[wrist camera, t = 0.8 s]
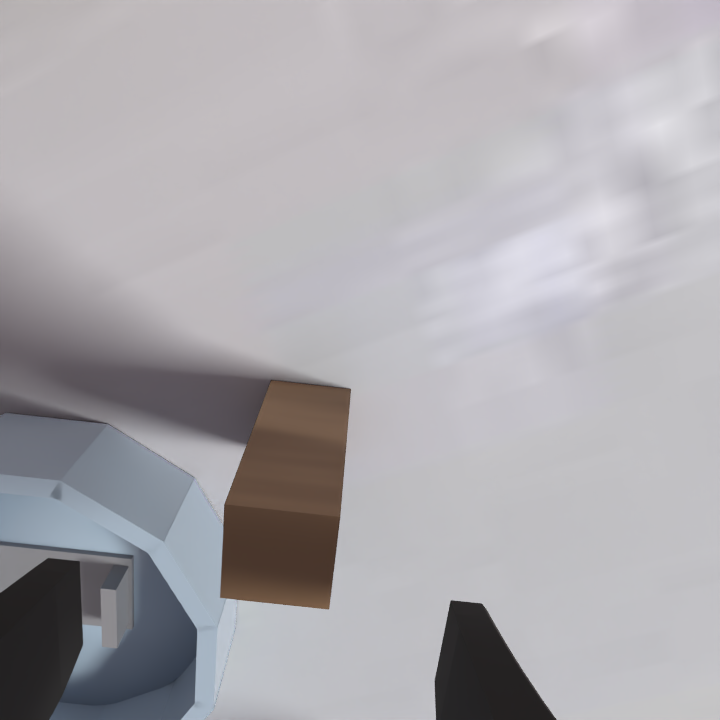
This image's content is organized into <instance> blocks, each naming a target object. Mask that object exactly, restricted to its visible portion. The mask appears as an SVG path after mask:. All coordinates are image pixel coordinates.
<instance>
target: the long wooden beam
mask: <svg viewBox="0 0 720 720" xmlns="http://www.w3.org/2000/svg"><path fill="white" fill-rule="evenodd" d="M350 393H351V389H346V388H337V387H328V386H319V385H310V384H301V383H292V382H283V381H274V380H271V382H270V385H269V387H268V390H267V393H266V395H265V398H264V401H263V403H262V406H261V409H260V411H259V414H258V417H257V419H256V422H255V425H254V427H253V430H252V433H251V435H250V438H249V441H248V443H247V446H246V448H245V451H244V454H243V456H242V459H241V462H240V464H239V467H238V470H237V472H236V475H235V478H234V480H233V483H232V486H231V488H230V491H229V494H228V496H227V499H226V502H225V504H224V525H223V546H222V566H221V587H220V598H226V599H236V600H245V601H255V602H264V603H274V604H283V605H293V606H302V607H312V608H321V609H329V605H330V597H331V589H332V580H333V572H334V564H335V555H336V547H337V539H338V530H339V522H340V512H341V501H342V489H343V477H344V465H345V453H346V441H347V429H348V417H349V405H350Z"/></svg>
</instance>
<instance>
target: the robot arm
mask: <svg viewBox="0 0 720 720" xmlns="http://www.w3.org/2000/svg"><path fill="white" fill-rule="evenodd" d="M82 646H83V627H82V603H81V580H80V561H73V560H64V559H54V558H47V559H46V560H44V561H43V562H42V563H40V564H39V565H37V566H36V567H35V568H33V569H32V570H31V571H29V572H28V573H27V574H25V575H24V576H22V577H21V578H20V579H18V580H17V581H16V582H14V583H13V584H12V585H10V586H9V587H8V588H6V589H5V590H4V591H2V592H1V593H0V720H49V719H50V717H51V716H52V714H53V712H54V710H55V708H56V707H57V705H58V703H59V701H60V699H61V697H62V695H63V693H64V690H65V688H66V686H67V683H68V681H69V679H70V676H71V674H72V672H73V669H74V667H75V664H76V662H77V659H78V656H79V654H80V651H81V649H82ZM435 701H436V720H556V718H555V717H554V716H553V714H552V713H551V711H550V710H549V709H548V707H547V706H546V704H545V703H544V701H543V700H542V699H541V697H540V696H539V694H538V693H537V691H536V690H535V688H534V687H533V685H532V684H531V682H530V681H529V679H528V678H527V676H526V675H525V673H524V672H523V670H522V669H521V667H520V665H519V664H518V662H517V661H516V659H515V657H514V656H513V654H512V653H511V651H510V649H509V648H508V646H507V644H506V643H505V641H504V639H503V638H502V636H501V634H500V632H499V631H498V629H497V627H496V626H495V624H494V622H493V620H492V619H491V617H490V615H489V613H488V611H487V610H486V608H485V607H484V606H483V604H480V603H470V602H461V601H451V602H450V607H449V612H448V617H447V622H446V627H445V632H444V637H443V642H442V647H441V652H440V657H439V662H438V667H437V672H436V677H435Z"/></svg>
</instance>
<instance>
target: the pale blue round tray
mask: <svg viewBox="0 0 720 720" xmlns="http://www.w3.org/2000/svg"><path fill="white" fill-rule="evenodd" d="M222 546H223V525H222V523H221V522H220V520H219V518H218V516H217V515H216V513H215V511H214V510H213V508H212V506H211V505H210V503H209V501H208V500H207V498H206V496H205V494H204V493H203V491H202V489H201V488H200V486H199V484H198V483H197V481H196V479H195V478H194V477H192V476H191V475H189V474H188V473H186V472H184V471H183V470H181V469H180V468H178V467H176V466H175V465H173V464H172V463H170V462H168V461H167V460H165V459H163V458H162V457H160V456H159V455H157V454H155V453H154V452H152V451H151V450H149V449H147V448H146V447H144V446H143V445H141V444H139V443H138V442H136V441H134V440H133V439H131V438H130V437H128V436H126V435H125V434H123V433H122V432H120V431H118V430H117V429H115V428H113V427H112V426H110V425H109V424H102V423H93V422H84V421H75V420H66V419H57V418H48V417H39V416H30V415H21V414H12V413H4V414H2V415H0V593H1V592H2V591H4V590H5V589H6V588H8V587H9V586H10V585H12V584H13V583H14V582H16V581H17V580H18V579H20V578H21V577H22V576H24V575H25V574H27V573H28V572H29V571H31V570H32V569H33V568H35V567H36V566H37V565H39V564H40V563H42V562H43V561H44V560H46V559H47V558H54V559H64V560H73V561H80V580H81V603H82V627H83V646H82V649H81V651H80V654H79V656H78V659H77V662H76V664H75V667H74V669H73V672H72V674H71V676H70V679H69V681H68V683H67V686H66V688H65V690H64V693H63V695H62V697H61V699H60V701H59V703H58V705H57V707H56V708H55V710H54V712H53V714H52V716H51V717H50V719H49V720H205V719H206V717H207V716H208V715H209V714H210V713H211V712H212V711H213V710H214V707H215V703H216V700H217V696H218V692H219V688H220V685H221V681H222V677H223V673H224V670H225V666H226V662H227V658H228V655H229V651H230V647H231V643H232V640H233V636H234V632H235V629H236V628H235V625H236V609H237V600H236V599H226V598H220V587H221V566H222Z"/></svg>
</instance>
